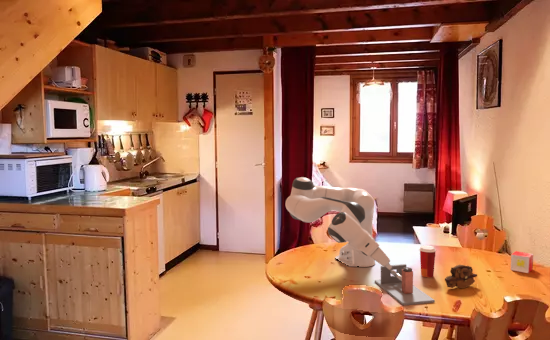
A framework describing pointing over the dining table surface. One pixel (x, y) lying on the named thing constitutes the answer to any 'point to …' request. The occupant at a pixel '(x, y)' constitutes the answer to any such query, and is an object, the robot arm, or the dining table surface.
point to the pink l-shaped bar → (405, 279)
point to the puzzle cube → (521, 262)
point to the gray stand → (395, 287)
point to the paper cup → (427, 260)
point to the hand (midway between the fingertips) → (385, 264)
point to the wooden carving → (460, 277)
